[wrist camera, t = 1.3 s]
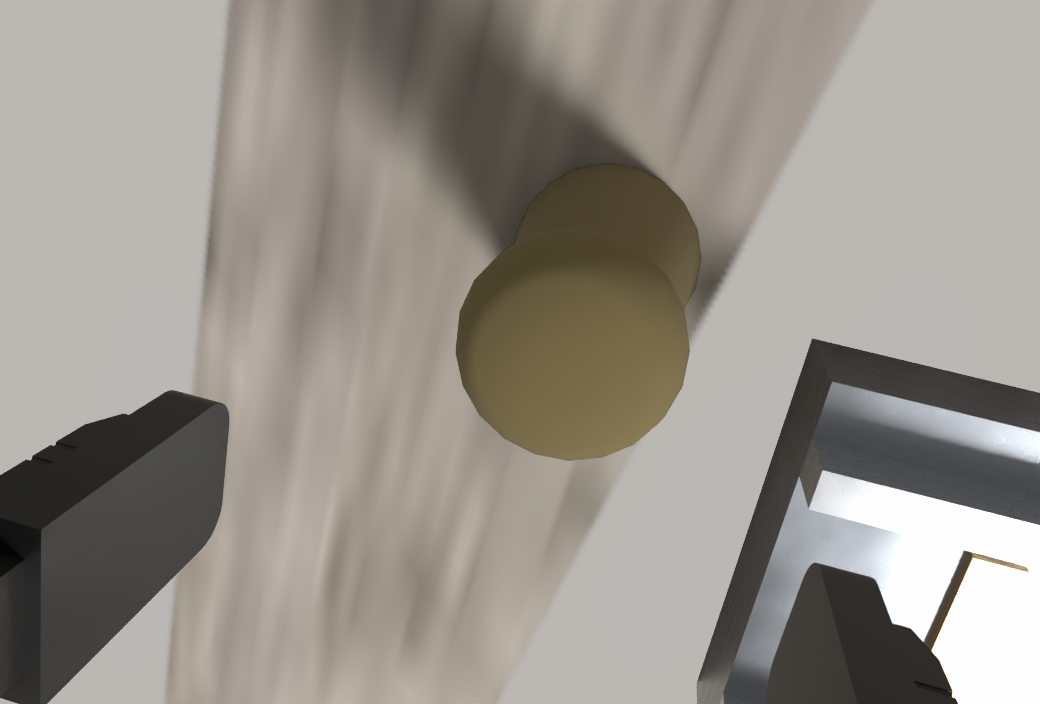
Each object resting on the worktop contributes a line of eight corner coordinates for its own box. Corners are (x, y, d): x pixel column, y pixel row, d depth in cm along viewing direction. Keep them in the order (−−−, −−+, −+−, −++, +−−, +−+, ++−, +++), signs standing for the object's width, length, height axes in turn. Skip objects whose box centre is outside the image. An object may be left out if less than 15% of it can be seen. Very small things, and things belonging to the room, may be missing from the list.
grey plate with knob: (812, 338, 28) (844, 408, 22) (1204, 432, 26) (1345, 532, 21) (696, 682, 32) (699, 811, 27) (1024, 775, 31) (1097, 931, 26)
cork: (549, 367, 30) (477, 528, 19) (488, 198, 28) (376, 276, 18) (723, 318, 28) (747, 466, 18) (669, 136, 26) (660, 183, 16)
